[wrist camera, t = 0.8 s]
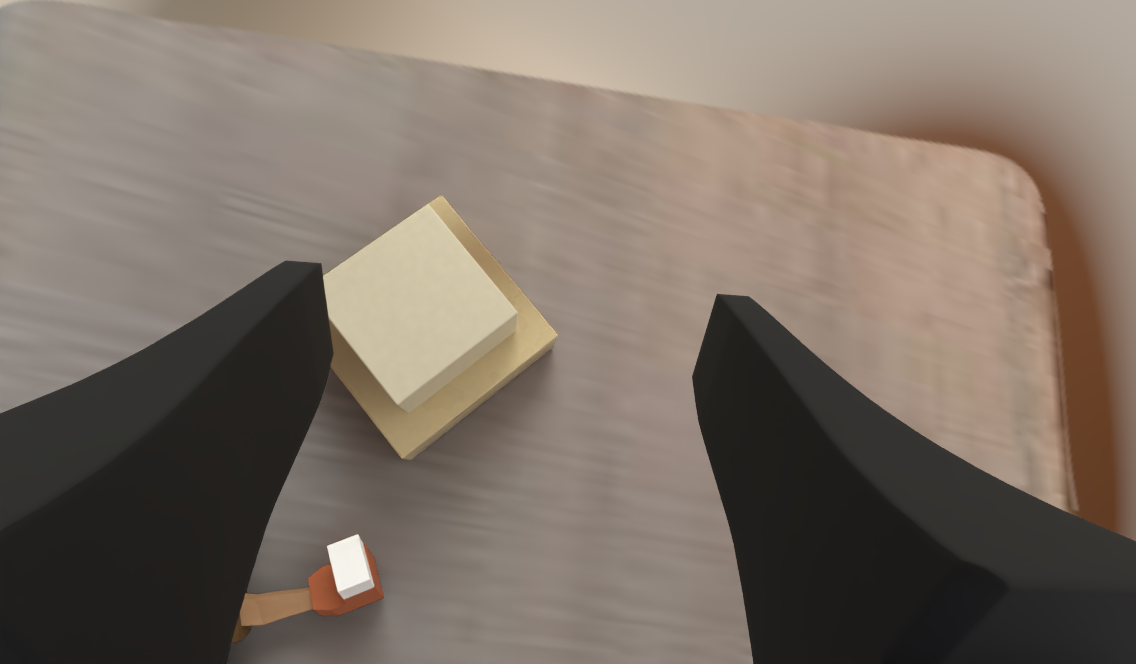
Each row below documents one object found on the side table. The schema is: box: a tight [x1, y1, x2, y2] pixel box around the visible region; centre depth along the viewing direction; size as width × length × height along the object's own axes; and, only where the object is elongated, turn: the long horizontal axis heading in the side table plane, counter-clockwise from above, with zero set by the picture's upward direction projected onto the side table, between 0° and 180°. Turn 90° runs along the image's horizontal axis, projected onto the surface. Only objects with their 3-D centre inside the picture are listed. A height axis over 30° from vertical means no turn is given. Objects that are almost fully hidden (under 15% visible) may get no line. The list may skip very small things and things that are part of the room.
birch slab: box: [329, 195, 558, 460], centre depth 28 cm, size 8×8×2 cm
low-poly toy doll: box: [231, 534, 384, 643], centre depth 23 cm, size 12×5×18 cm
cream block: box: [323, 204, 518, 413], centre depth 25 cm, size 6×6×3 cm
